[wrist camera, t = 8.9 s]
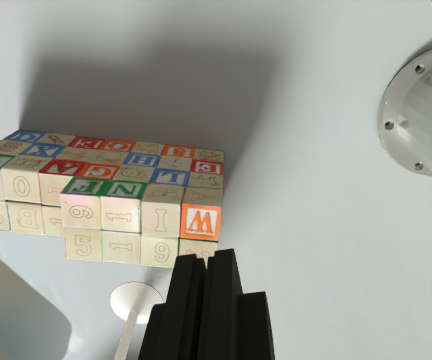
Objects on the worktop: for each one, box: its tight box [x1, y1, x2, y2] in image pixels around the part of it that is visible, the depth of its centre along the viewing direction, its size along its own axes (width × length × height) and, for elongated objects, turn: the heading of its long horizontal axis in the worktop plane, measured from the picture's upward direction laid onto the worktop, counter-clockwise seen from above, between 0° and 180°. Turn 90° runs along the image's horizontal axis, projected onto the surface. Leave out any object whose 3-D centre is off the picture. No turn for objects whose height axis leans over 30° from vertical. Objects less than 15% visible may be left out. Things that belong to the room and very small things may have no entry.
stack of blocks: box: [0, 130, 224, 269], centre depth 36 cm, size 21×6×12 cm, turn 84°
